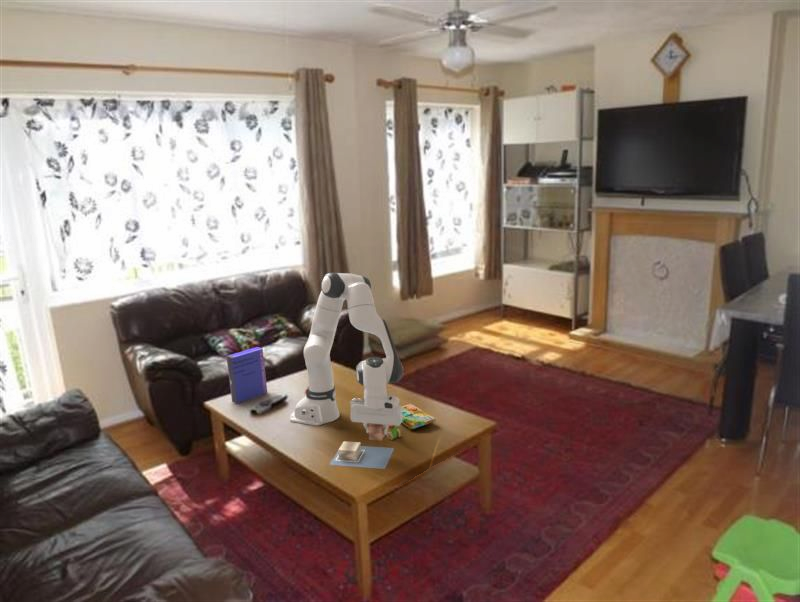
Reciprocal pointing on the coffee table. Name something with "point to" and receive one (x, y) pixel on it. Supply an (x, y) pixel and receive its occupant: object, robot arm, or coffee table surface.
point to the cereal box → (247, 374)
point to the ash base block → (349, 450)
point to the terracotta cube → (376, 431)
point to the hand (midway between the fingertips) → (376, 433)
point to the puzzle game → (415, 417)
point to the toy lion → (393, 432)
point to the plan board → (367, 458)
